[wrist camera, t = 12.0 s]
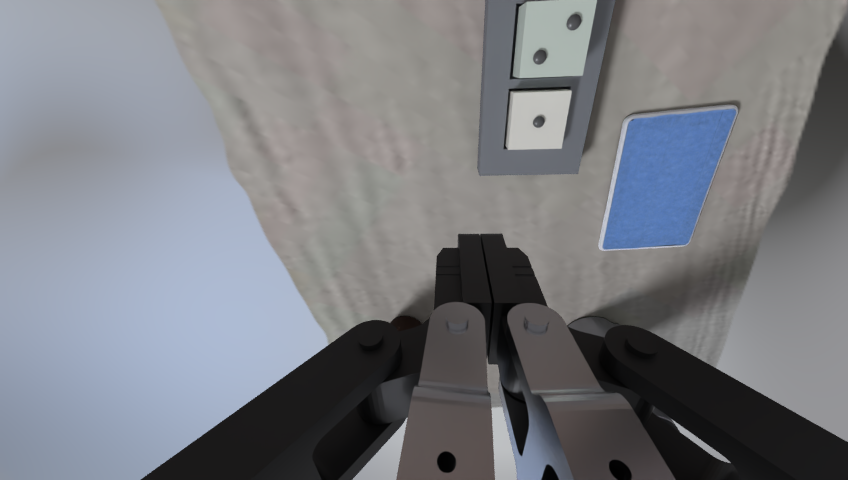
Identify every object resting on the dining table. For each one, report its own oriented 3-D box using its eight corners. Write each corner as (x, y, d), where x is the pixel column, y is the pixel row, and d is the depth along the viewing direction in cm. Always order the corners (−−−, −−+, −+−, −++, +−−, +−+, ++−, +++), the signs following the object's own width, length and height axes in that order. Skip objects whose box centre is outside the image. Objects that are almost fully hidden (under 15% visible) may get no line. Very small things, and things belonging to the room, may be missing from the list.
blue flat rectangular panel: (684, 243, 46) (690, 247, 45) (595, 248, 48) (598, 253, 47) (734, 102, 37) (743, 103, 36) (620, 114, 38) (625, 116, 37)
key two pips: (582, 3, 30) (598, -3, 27) (570, 73, 33) (583, 75, 30) (519, 7, 31) (527, 1, 27) (512, 76, 34) (519, 78, 30)
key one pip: (561, 87, 36) (572, 90, 33) (552, 141, 39) (562, 149, 36) (508, 89, 36) (513, 93, 33) (503, 142, 39) (508, 150, 36)
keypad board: (633, -153, 27) (653, -175, 24) (569, 166, 41) (577, 173, 38) (492, -140, 28) (496, -160, 25) (477, 168, 42) (479, 175, 39)
